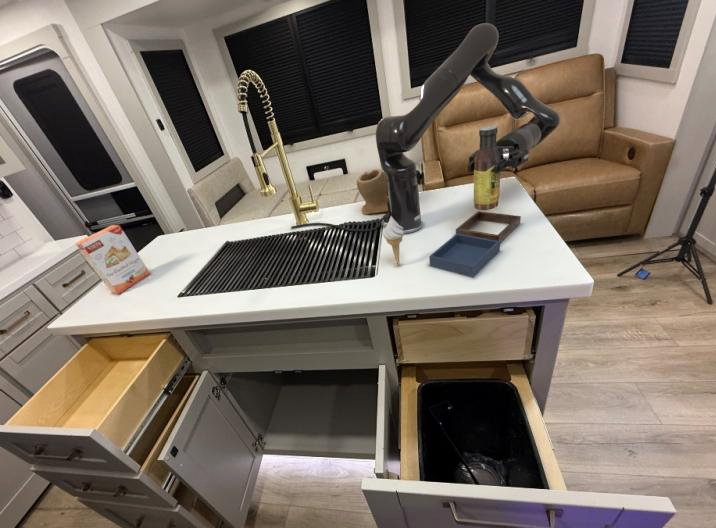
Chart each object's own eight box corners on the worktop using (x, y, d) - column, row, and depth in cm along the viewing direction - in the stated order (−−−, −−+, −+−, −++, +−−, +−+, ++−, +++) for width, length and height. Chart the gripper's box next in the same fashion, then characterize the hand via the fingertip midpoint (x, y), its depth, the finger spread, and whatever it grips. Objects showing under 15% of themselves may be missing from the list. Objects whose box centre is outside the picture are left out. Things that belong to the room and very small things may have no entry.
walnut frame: (455, 237, 99) (455, 229, 98) (478, 218, 105) (478, 210, 104) (498, 244, 91) (499, 236, 89) (520, 224, 96) (521, 216, 95)
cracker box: (119, 295, 123) (81, 244, 111) (111, 292, 126) (73, 243, 114) (151, 273, 132) (119, 224, 120) (143, 272, 135) (111, 224, 123)
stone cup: (358, 219, 126) (349, 179, 118) (366, 206, 135) (359, 168, 126) (398, 216, 120) (392, 173, 112) (404, 202, 129) (399, 162, 120)
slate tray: (429, 266, 90) (429, 256, 89) (456, 243, 96) (456, 233, 95) (473, 277, 82) (473, 266, 80) (499, 251, 88) (500, 241, 86)
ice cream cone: (396, 258, 97) (388, 209, 89) (412, 262, 94) (406, 212, 85) (384, 268, 95) (375, 218, 86) (400, 273, 91) (393, 221, 82)
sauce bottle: (494, 212, 89) (497, 131, 77) (470, 211, 92) (469, 133, 81) (502, 201, 92) (506, 122, 81) (478, 201, 96) (479, 125, 85)
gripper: (540, 161, 90) (510, 185, 82) (487, 160, 100) (456, 182, 92) (543, 130, 86) (512, 153, 78) (487, 132, 95) (455, 153, 88)
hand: (482, 169), depth 85 cm, fingers closed on sauce bottle, 6 cm apart
